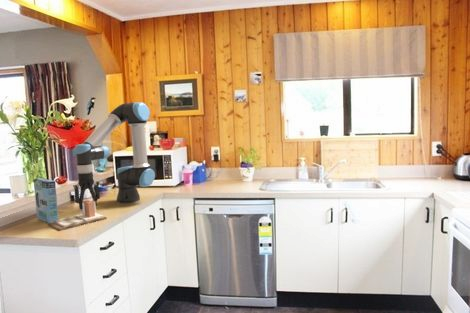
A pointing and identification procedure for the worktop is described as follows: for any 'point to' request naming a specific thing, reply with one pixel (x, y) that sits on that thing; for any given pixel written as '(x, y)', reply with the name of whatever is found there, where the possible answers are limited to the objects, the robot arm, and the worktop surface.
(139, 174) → the robot arm
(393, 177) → the worktop surface
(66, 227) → the board
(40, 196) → the blue cereal box
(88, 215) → the pink block on base
